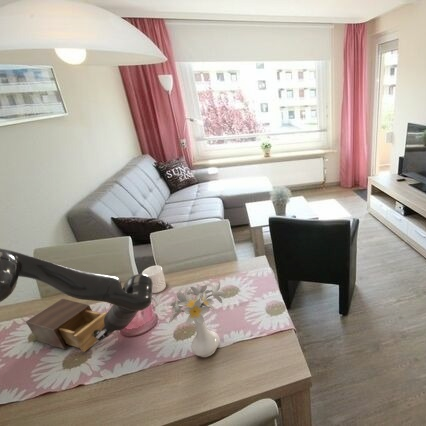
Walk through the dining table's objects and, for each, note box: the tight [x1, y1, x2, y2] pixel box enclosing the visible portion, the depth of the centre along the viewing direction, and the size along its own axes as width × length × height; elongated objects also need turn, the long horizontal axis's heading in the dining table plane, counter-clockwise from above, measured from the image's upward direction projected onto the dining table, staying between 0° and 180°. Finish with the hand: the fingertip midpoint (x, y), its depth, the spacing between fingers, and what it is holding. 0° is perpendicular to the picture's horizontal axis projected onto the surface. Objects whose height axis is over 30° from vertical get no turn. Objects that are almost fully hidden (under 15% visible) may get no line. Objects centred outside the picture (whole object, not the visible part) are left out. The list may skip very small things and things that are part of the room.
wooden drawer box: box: [25, 298, 93, 350], centre depth 110 cm, size 15×13×10 cm
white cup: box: [141, 265, 167, 294], centre depth 132 cm, size 8×8×10 cm
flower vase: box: [168, 281, 226, 358], centre depth 98 cm, size 13×18×25 cm
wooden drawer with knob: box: [57, 310, 108, 353], centre depth 107 cm, size 15×11×8 cm
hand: (106, 333), depth 104 cm, fingers closed
